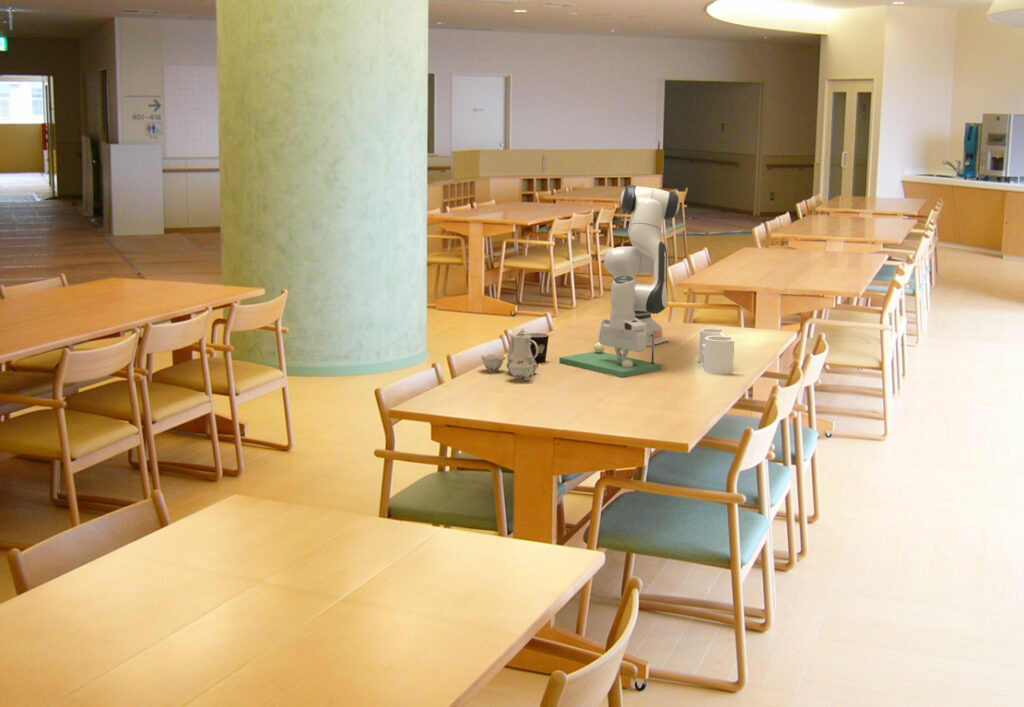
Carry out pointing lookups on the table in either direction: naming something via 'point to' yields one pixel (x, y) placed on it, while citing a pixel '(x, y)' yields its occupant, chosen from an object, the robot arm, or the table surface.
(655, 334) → the pin
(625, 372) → the green
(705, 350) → the cylindrical containers
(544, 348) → the coffee mug
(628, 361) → the ball
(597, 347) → the ball
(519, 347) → the chinaware
